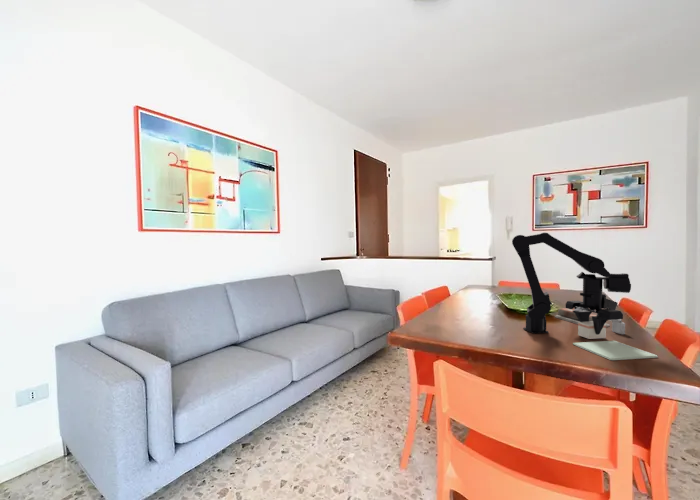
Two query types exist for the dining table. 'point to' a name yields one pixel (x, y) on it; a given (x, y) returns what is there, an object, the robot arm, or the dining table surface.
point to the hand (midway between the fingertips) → (591, 332)
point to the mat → (614, 350)
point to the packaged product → (571, 316)
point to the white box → (590, 330)
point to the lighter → (618, 326)
